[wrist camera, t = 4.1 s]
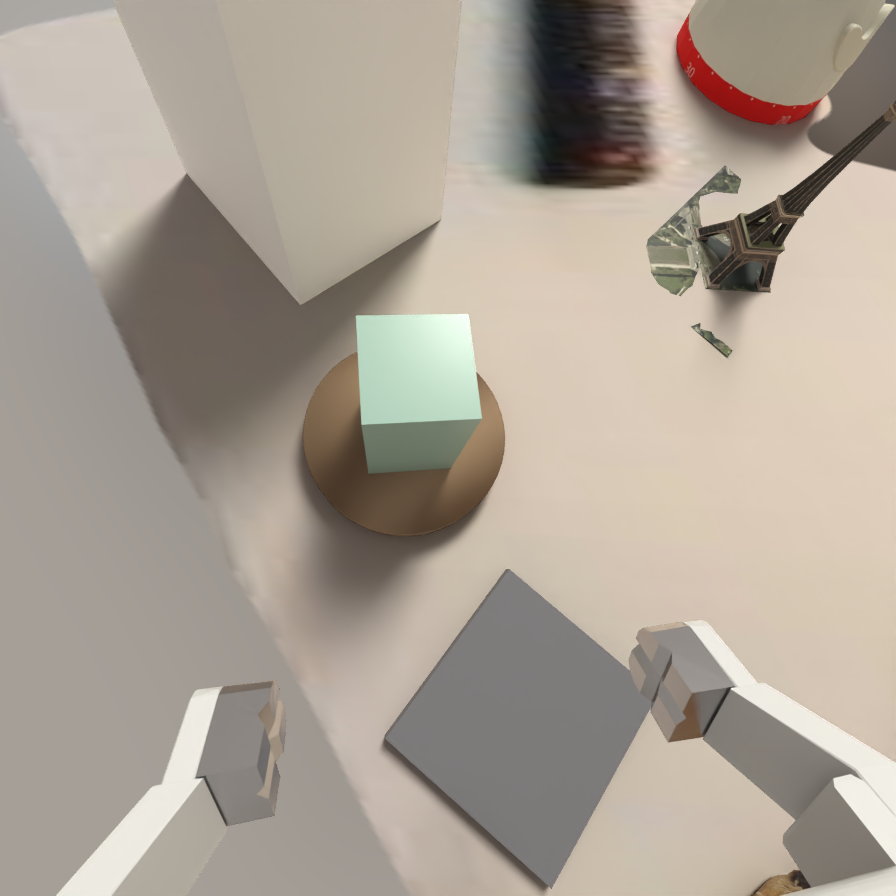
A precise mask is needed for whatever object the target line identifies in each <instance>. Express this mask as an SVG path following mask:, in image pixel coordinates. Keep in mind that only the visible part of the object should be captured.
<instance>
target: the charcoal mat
mask: <svg viewBox="0 0 896 896" xmlns="http://www.w3.org/2000/svg"><path fill="white" fill-rule="evenodd" d="M650 708H651V701H650V700H649V699H647V698H646V697H645V696H643V695H642V694H641V693H640V692H639V691H638V689H637V687H636V685H635V683H634V681H633V678H632V676H631V673H630V671H629V670H628V669H627V668H626V667H625V666H623V665H622V664H621V663H620V662H619V661H617V660H616V659H615V658H614V657H613V656H611V655H610V654H609V653H608V652H607V651H606V650H604V649H603V648H602V647H601V646H600V645H598V644H597V643H596V642H595V641H594V640H593V639H591V638H590V637H589V636H588V635H587V634H585V633H584V632H583V631H582V630H581V629H579V628H578V627H577V626H576V625H575V624H574V623H572V622H571V621H570V620H569V619H568V618H566V617H565V616H564V615H563V614H562V613H561V612H559V611H558V610H557V609H556V608H555V607H553V606H552V605H551V604H550V603H549V602H548V601H546V600H545V599H544V598H543V597H542V596H540V595H539V594H538V593H537V592H536V591H534V590H533V589H532V588H531V587H530V586H529V585H527V584H526V583H525V582H524V581H523V580H521V579H520V578H519V577H518V576H517V575H516V574H514V573H513V572H512V571H511V570H510V569H506V570H505V572H504V573H503V574H502V576H501V577H500V578H499V580H498V581H497V583H496V584H495V585H494V587H493V588H492V589H491V591H490V592H489V594H488V595H487V596H486V598H485V599H484V600H483V602H482V603H481V604H480V606H479V607H478V609H477V610H476V611H475V613H474V614H473V615H472V617H471V618H470V620H469V621H468V622H467V624H466V625H465V626H464V628H463V629H462V630H461V632H460V633H459V635H458V636H457V637H456V639H455V640H454V641H453V643H452V644H451V646H450V647H449V648H448V650H447V651H446V652H445V654H444V655H443V656H442V658H441V659H440V661H439V662H438V663H437V665H436V666H435V667H434V669H433V670H432V672H431V673H430V674H429V676H428V677H427V678H426V680H425V681H424V682H423V684H422V685H421V687H420V688H419V689H418V691H417V692H416V693H415V695H414V696H413V697H412V699H411V700H410V702H409V703H408V704H407V706H406V707H405V708H404V710H403V711H402V713H401V714H400V715H399V717H398V718H397V719H396V721H395V722H394V723H393V725H392V726H391V728H390V729H389V730H388V732H387V733H386V734H385V739H386V740H387V741H388V742H389V743H390V744H391V745H392V746H394V747H395V748H396V749H397V750H398V751H399V752H400V753H401V754H402V755H404V756H405V757H406V758H407V759H408V760H409V761H410V762H411V763H412V764H414V765H415V766H416V767H417V768H418V769H419V770H420V771H421V772H422V773H424V774H425V775H426V776H427V777H428V778H429V779H430V780H431V781H432V782H433V783H435V784H436V785H437V786H438V787H439V788H440V789H441V790H442V791H443V792H445V793H446V794H447V795H448V796H449V797H450V798H451V799H452V800H453V801H455V802H456V803H457V804H458V805H459V806H460V807H461V808H462V809H463V810H465V811H466V812H467V813H468V814H469V815H470V816H471V817H472V818H473V819H475V820H476V821H477V822H478V823H479V824H480V825H481V826H482V827H483V828H484V829H486V830H487V831H488V832H489V833H490V834H491V835H492V836H493V837H494V838H496V839H497V840H498V841H499V842H500V843H501V844H502V845H503V846H504V847H506V848H507V849H508V850H509V851H510V852H511V853H512V854H513V855H514V856H516V857H517V858H518V859H519V860H520V861H521V862H522V863H523V864H524V865H526V866H527V867H528V868H529V869H530V870H531V871H532V872H533V873H534V874H535V875H537V876H538V877H539V878H540V879H541V880H542V881H543V882H544V883H545V884H547V885H548V886H549V887H550V888H551V889H552V887H553V885H554V883H555V881H556V880H557V878H558V876H559V874H560V872H561V870H562V869H563V867H564V865H565V863H566V861H567V860H568V858H569V856H570V854H571V852H572V850H573V849H574V847H575V845H576V843H577V841H578V839H579V838H580V836H581V834H582V832H583V830H584V828H585V827H586V825H587V823H588V821H589V819H590V817H591V816H592V814H593V812H594V810H595V808H596V806H597V805H598V803H599V801H600V799H601V797H602V796H603V794H604V792H605V790H606V788H607V786H608V785H609V783H610V781H611V779H612V777H613V775H614V774H615V772H616V770H617V768H618V766H619V764H620V763H621V761H622V759H623V757H624V755H625V753H626V752H627V750H628V748H629V746H630V744H631V742H632V741H633V739H634V737H635V735H636V733H637V732H638V730H639V728H640V726H641V724H642V722H643V721H644V719H645V717H646V715H647V713H648V711H649V710H650Z"/></svg>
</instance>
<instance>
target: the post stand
mask: <svg viewBox="0 0 896 896" xmlns="http://www.w3.org/2000/svg"><path fill="white" fill-rule="evenodd" d="M476 376H477V383H478V391H479V399H480V407H481V415H482V419H481V421H480V423H479V424H478V426H477V427H476V429H475V431H474V432H473V434H472V435H471V437H470V439H469V440H468V442H467V443H466V445H465V446H464V448H463V450H462V451H461V453H460V454H459V456H458V458H457V459H456V461H455V462H454V464H453V466H452V467H451V468H446V469H431V470H417V471H402V472H387V473H372V474H369V473H368V466H367V459H366V452H365V445H364V439H363V432H362V425H361V406H360V387H359V368H358V352H356V353H354V354H352V355H350V356H349V357H347V358H346V359H344V360H343V361H341V362H340V363H339V364H338V365H336V366H335V367H334V368H333V369H332V370H331V371H330V372H329V373H328V374H327V375H326V376H325V377H324V378H323V380H322V381H321V383H320V384H319V385H318V387H317V388H316V390H315V392H314V394H313V396H312V398H311V400H310V403H309V406H308V408H307V411H306V416H305V421H304V429H303V443H304V452H305V456H306V460H307V464H308V467H309V469H310V472H311V474H312V477H313V478H314V480H315V482H316V484H317V485H318V487H319V489H320V490H321V491H322V493H323V494H324V495H325V497H326V498H327V499H328V501H329V502H330V503H331V504H332V505H333V506H334V507H335V508H336V509H337V510H338V511H339V512H340V513H341V514H343V515H344V516H345V517H347V518H348V519H349V520H351V521H353V522H354V523H356V524H358V525H360V526H362V527H364V528H367V529H369V530H372V531H374V532H378V533H383V534H387V535H395V536H415V535H421V534H427V533H430V532H434V531H437V530H440V529H442V528H444V527H446V526H449V525H451V524H452V523H454V522H456V521H457V520H459V519H460V518H462V517H463V516H465V515H466V514H467V513H468V512H470V511H471V510H472V509H473V508H474V507H476V506H477V505H478V504H479V502H480V501H481V500H482V499H483V498H484V497H485V496H486V494H487V493H488V491H489V490H490V488H491V487H492V485H493V483H494V481H495V479H496V477H497V475H498V473H499V470H500V467H501V464H502V460H503V455H504V447H505V432H504V424H503V419H502V414H501V412H500V409H499V406H498V403H497V401H496V399H495V397H494V395H493V393H492V391H491V390H490V388H489V387H488V385H487V384H486V382H485V381H484V380H483V379H482V378H481V377H480V375H479V374H478V373H477V372H476Z"/></svg>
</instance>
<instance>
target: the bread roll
mask: <svg viewBox="0 0 896 896" xmlns="http://www.w3.org/2000/svg"><path fill="white" fill-rule="evenodd" d="M808 888H811V886H810V884H809V883H808V881H807V880H806V878H805V877H804V875H803V874H802V872H801V871H799V870H793V871H792V872H791V873H789V874H788V875H778V876H774V877H771V878H770V879H769V880H768V881H766V882H765V883H764V884H763V885H762V886H761V888H760V889H759V890H758V891H757V892H755V893H754V895H752V896H781V895H785V894H789V893H793V892H797V891H801V890H804V889H808Z"/></svg>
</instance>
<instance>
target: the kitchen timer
mask: <svg viewBox="0 0 896 896" xmlns="http://www.w3.org/2000/svg"><path fill="white" fill-rule="evenodd" d="M885 1H886V0H696V2H695V4H694V6H693V7H692V9H691V11H690V13H689V15H688V17H687V18H686V20H685V22H684V24H683V26H682V28H681V30H680V31H679V33H678V35H677V53H678V56H679V59H680V62H681V65H682V68H683V69H684V71H685V72H686V74H687V75H688V77H689V78H690V80H691V81H692V83H693V84H694V85H695V86H696V87H697V88H698V89H699V90H700V91H701V92H702V93H703V94H704V95H705V96H706V97H707V98H708V99H710V100H711V101H713V102H714V103H716V104H717V105H719V106H720V107H722V108H723V109H725V110H726V111H728V112H730V113H732V114H735V115H737V116H740V117H742V118H744V119H747V120H749V121H754V122H759V123H765V124H770V125H773V124H790V123H792V122H795V121H797V120H800V119H802V118H805V117H806V116H807V115H808V114H809V113H810V112H811V111H812V110H813V109H814V108H815V106H816V105H817V104H818V103H819V102H820V101H821V100H822V99H823V98H824V97H825V96H826V95H827V93H828V92H829V91H830V90H831V89H832V88H833V86H834V85H835V84H836V83H837V81H838V80H839V79H840V78H841V76H842V75H843V73H844V72H845V71H846V69H848V68H849V67H850V66H851V65H852V64H853V63H854V61H855V60H856V59H857V57H858V56H859V55H860V53H861V52H862V50H863V49H864V47H865V46H866V45H867V43H868V42H869V41H870V39H871V38H872V37H873V35H874V34H875V32H876V31H877V30H878V28H879V27H880V25H881V24H882V23H883V22H884V20H885V19H886V17H887V16H888V15H889V13H890V12H891V11H892V9H893V8H894V5H891V4H884V3H885Z"/></svg>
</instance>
